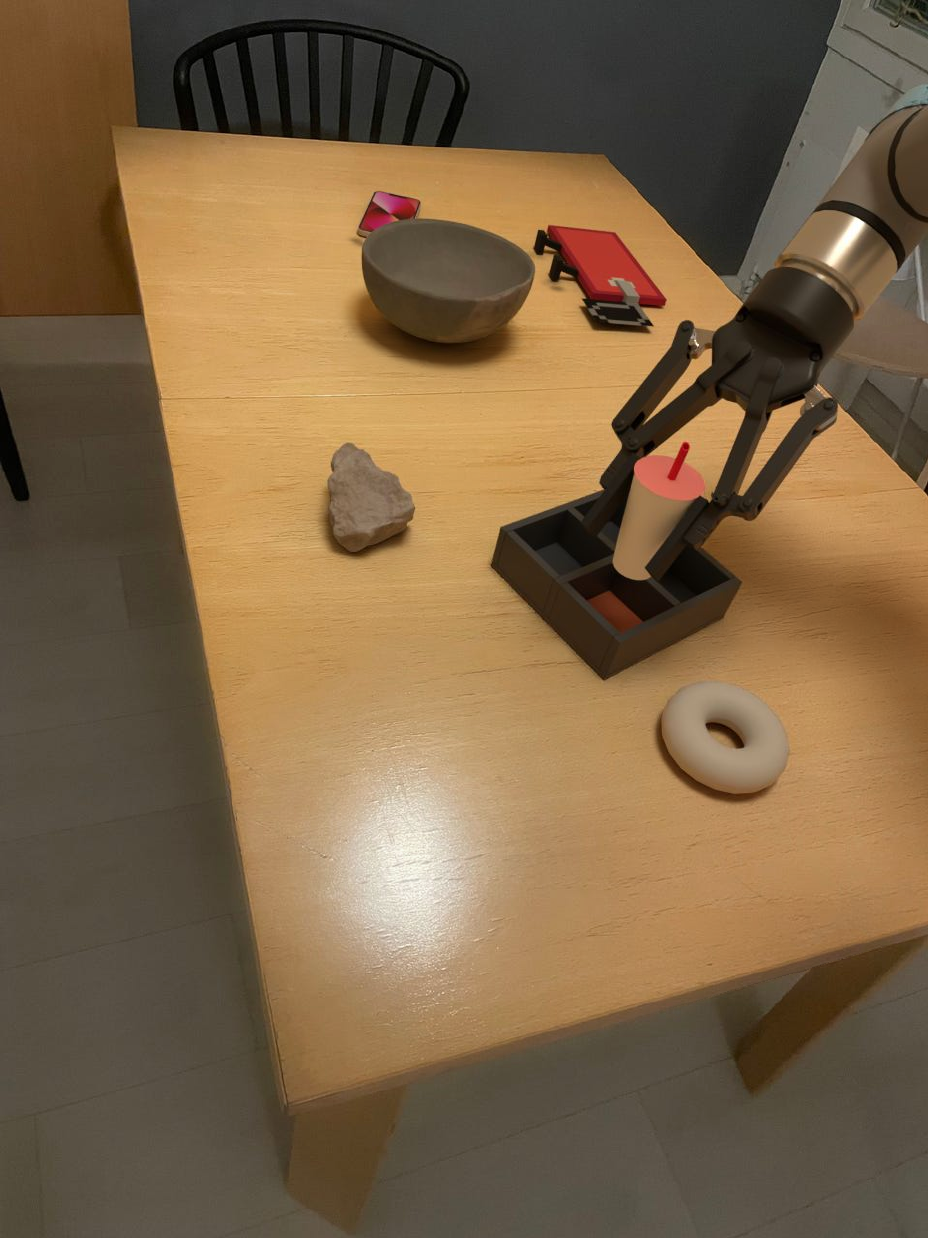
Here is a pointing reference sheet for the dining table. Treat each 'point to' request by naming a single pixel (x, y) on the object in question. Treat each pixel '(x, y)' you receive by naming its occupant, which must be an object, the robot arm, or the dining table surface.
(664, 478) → the cup
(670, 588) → the grid
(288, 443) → the dining table surface
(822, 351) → the robot arm
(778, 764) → the donut
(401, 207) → the smartphone
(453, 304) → the bowl
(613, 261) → the red board with handle
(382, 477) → the stone
